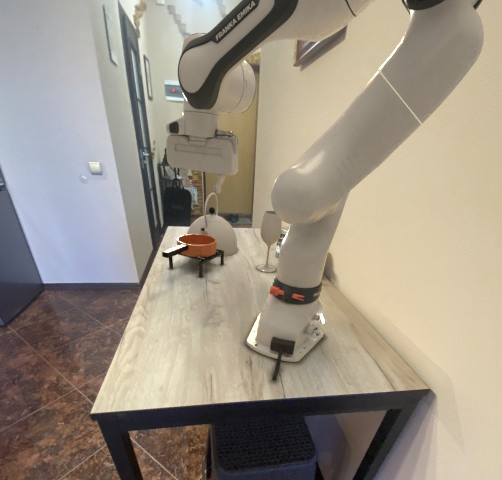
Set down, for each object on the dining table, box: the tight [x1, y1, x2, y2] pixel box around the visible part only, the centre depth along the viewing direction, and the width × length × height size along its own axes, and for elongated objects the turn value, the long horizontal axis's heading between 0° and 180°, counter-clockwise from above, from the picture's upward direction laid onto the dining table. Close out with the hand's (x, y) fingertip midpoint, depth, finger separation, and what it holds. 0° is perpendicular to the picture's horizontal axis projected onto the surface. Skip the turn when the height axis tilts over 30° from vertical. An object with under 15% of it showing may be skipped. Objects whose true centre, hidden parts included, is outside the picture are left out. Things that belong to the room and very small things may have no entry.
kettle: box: [186, 192, 238, 258], centre depth 121 cm, size 25×23×23 cm
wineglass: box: [256, 210, 282, 273], centre depth 107 cm, size 8×8×21 cm
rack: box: [168, 249, 225, 278], centre depth 107 cm, size 16×14×6 cm
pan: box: [161, 233, 216, 259], centre depth 101 cm, size 25×14×4 cm, turn 155°
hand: (202, 190), depth 78 cm, fingers open, 8 cm apart
